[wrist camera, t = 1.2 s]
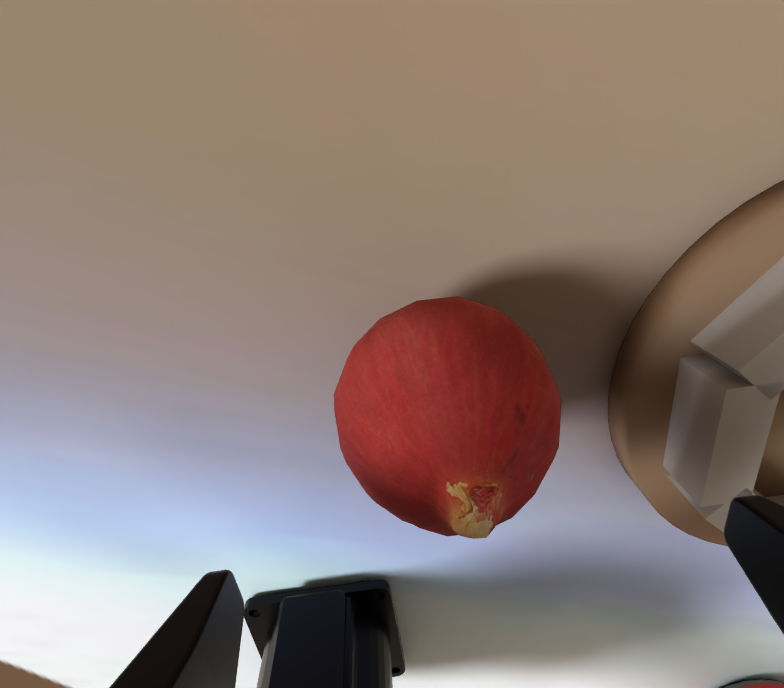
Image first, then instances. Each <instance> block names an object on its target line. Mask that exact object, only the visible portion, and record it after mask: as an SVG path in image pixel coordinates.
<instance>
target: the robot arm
mask: <svg viewBox="0 0 784 688" xmlns="http://www.w3.org/2000/svg"><path fill="white" fill-rule="evenodd" d="M724 537H725V540H726V543H727V545H728V547H729V548H730V550H731V552H732V553H733V555H734V556H735V558H736V560H737V561H738V563H739V564H740V566H741V568H742V569H743V571H744V572H745V574H746V576H747V577H748V579H749V580H750V582H751V584H752V585H753V587H754V588H755V590H756V592H757V593H758V595H759V596H760V598H761V600H762V601H763V603H764V604H765V606H766V608H767V609H768V611H769V613H770V614H771V616H772V617H773V619H774V620H775V622H776V623H777V625H778V626H779V628H780V629H781V631H782V633H783V634H784V506H782V505H780V504H778V503H776V502H773V501H771V500H769V499H767V498H765V497H762V496H759V495H750V496H743V497H737V498H734V499H733V500H732V501H731V503H730V506H729V510H728V514H727V518H726V522H725V526H724ZM243 618H245V620H246V623H247V625H248V627H249V630H250V632H251V635H252V637H253V639H254V642H255V644H256V647H257V649H258V651H259V654H260V656H261V659H262V663H261V668H260V673H259V678H258V683H257V688H393V686H392V677H395V676H399V675H401V674H403V673H404V672H405V660H404V655H403V650H402V645H401V640H400V634H399V629H398V624H397V619H396V614H395V608H394V603H393V598H392V593H391V588H390V585H389V583H388V582H386V581H383V580H374V581H367V582H360V583H353V584H346V585H339V586H331V587H324V588H317V589H310V590H303V591H296V592H288V593H281V594H274V595H267V596H260V597H253V598H250V599H248V600H247V601H246V603H245V606H244V601H243V598H242V595H241V593H240V590H239V588H238V585H237V583H236V580H235V578H234V575H233V573H232V572H231V571H230V570H221V571H214V572H209V573H207V574H206V575H204V576H203V577H202V578H201V580H200V581H199V582H198V583H197V584H196V585H195V587H194V588H193V589H192V590H191V591H190V593H189V594H188V595H187V596H186V597H185V599H184V600H183V601H182V602H181V603H180V604H179V606H178V607H177V608H176V609H175V610H174V612H173V613H172V614H171V615H170V616H169V618H168V619H167V620H166V621H165V622H164V623H163V625H162V626H161V627H160V628H159V629H158V631H157V632H156V633H155V634H154V635H153V636H152V638H151V639H150V640H149V641H148V642H147V644H146V645H145V646H144V647H143V648H142V650H141V651H140V652H139V653H138V654H137V655H136V657H135V658H134V659H133V660H132V661H131V663H130V664H129V665H128V666H127V667H126V669H125V670H124V671H123V672H122V673H121V674H120V676H119V677H118V678H117V679H116V680H115V682H114V683H113V684H112V685H111V686H110V687H109V688H235V683H236V675H237V667H238V659H239V651H240V642H241V634H242V626H243Z"/></svg>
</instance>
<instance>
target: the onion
mask: <svg viewBox="0 0 784 688" xmlns="http://www.w3.org/2000/svg"><path fill="white" fill-rule="evenodd" d="M334 410H335V417H336V423H337V429H338V435H339V442H340V448H341V451H342V453H343V456H344V458H345V461H346V463H347V465H348V466H349V468H350V469H351V471H352V472H353V474H354V475H355V477H356V478H357V480H358V481H359V483H360V484H361V486H362V487H363V489H364V490H365V492H366V493H367V494H368V495H369V496H370V497H371V498H372V499H373V500H374V501H375V502H376V503H377V504H379V505H380V506H382V507H383V508H385V509H386V510H387V511H389V512H390V513H392V514H393V515H395V516H396V517H398V518H399V519H401V520H402V521H405V522H408V523H411V524H413V525H415V526H417V527H419V528H421V529H425V530H428V531H431V532H435V533H438V534H441V535H445V536H454V535H460V536H464V537H468V538H487V536H488V535H489V534H490V533H491V531H492V530H493V529H494V528H495V526H496V525H498V524H500V523H502V522H504V521H506V520H508V519H510V518H512V517H513V516H514V515H515V514H516V513H517V512H518V511H519V510H520V509H521V508H522V507H523V506H524V505H525V504H526V503H527V502H528V501H529V500H530V499H531V498H532V497H533V496H534V495H535V493H536V491H537V489H538V487H539V485H540V484H541V482H542V480H543V478H544V476H545V474H546V472H547V471H548V469H549V467H550V465H551V463H552V461H553V460H554V457H555V455H556V452H557V450H558V447H559V436H560V417H561V398H560V394H559V391H558V387H557V384H556V382H555V380H554V378H553V376H552V374H551V372H550V369H549V367H548V365H547V363H546V361H545V359H544V357H543V355H542V353H541V351H540V350H539V348H538V346H537V344H536V343H535V341H534V340H533V339H532V338H531V337H530V336H529V335H528V334H526V333H525V332H524V331H523V330H522V329H521V328H520V327H519V326H518V325H516V324H515V323H514V322H513V321H512V320H511V319H510V318H509V317H507V316H506V315H505V314H503V313H501V312H500V311H498V310H497V309H495V308H492V307H489V306H486V305H483V304H480V303H477V302H474V301H471V300H467V299H464V298H461V297H458V296H457V297H448V298H439V299H429V300H420V301H416V302H413V303H411V304H409V305H407V306H405V307H403V308H401V309H399V310H397V311H395V312H393V313H391V314H389V315H387V316H385V317H383V318H380V319H379V320H378V321H377V322H376V323H375V325H374V326H373V327H372V328H371V329H370V330H369V331H368V332H367V333H366V334H365V335H364V336H363V337H362V338H361V339H360V340H359V341H358V342H357V343H356V344H355V345H354V347H353V349H352V351H351V352H350V354H349V356H348V358H347V361H346V363H345V366H344V369H343V371H342V374H341V377H340V379H339V382H338V385H337V387H336V390H335V393H334Z"/></svg>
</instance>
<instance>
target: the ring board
mask: <svg viewBox="0 0 784 688" xmlns="http://www.w3.org/2000/svg"><path fill="white" fill-rule="evenodd" d="M608 422H609V428H610V435H611V440H612V443H613V446H614V449H615V452H616V455H617V457H618V459H619V461H620V463H621V465H622V466H623V468H624V470H625V472H626V473H627V474H628V476H629V477H630V478H631V480H632V481H633V482H634V483H635V485H636V486H637V487H638V488H639V490H640V491H641V492H642V494H643V495H644V496H645V497H646V499H647V500H648V501H649V502H650V504H651V505H652V506H653V507H654V508H655V510H656V511H657V512H658V513H659V514H660V515H661V516H662V517H664V518H665V519H666V520H667V521H668V522H670V523H671V524H672V525H674V526H675V527H677V528H679V529H681V530H682V531H684V532H686V533H687V534H689V535H692V536H695V537H697V538H700V539H702V540H705V541H708V542H712V543H716V544H721V545H725V546H728V545H727V543H726V540H725V537H724V526H725V522H726V518H727V514H728V510H729V506H730V503H731V501H732V500H733V499H734V498H737V497H743V496H750V495H759V496H762V497H765V498H767V499H769V500H771V501H773V502H776V503H778V504H780V505H782V506H784V181H781V182H779V183H777V184H775V185H774V186H772V187H770V188H768V189H767V190H765V191H763V192H762V193H760V194H758V195H757V196H755V197H753V198H752V199H750V200H748V201H747V202H745V203H744V204H742V205H741V206H739V207H738V208H737V209H735V210H734V211H733V212H731V213H730V214H729V215H727V216H726V217H724V218H723V219H722V220H720V221H719V222H718V223H716V224H715V225H714V226H713V227H712V228H711V229H709V230H708V231H707V232H706V233H705V234H704V235H703V236H702V237H700V238H699V239H698V240H697V241H696V242H695V243H694V244H693V245H692V246H690V247H689V248H688V249H687V251H686V252H685V253H684V254H683V255H682V256H681V257H680V258H679V259H678V260H677V261H676V262H675V264H674V265H673V266H672V267H671V268H670V269H669V270H668V271H667V272H666V273H665V275H664V276H663V277H662V279H661V280H660V281H659V283H658V284H657V285H656V287H655V288H654V289H653V291H652V292H651V293H650V295H649V296H648V297H647V299H646V301H645V302H644V304H643V306H642V307H641V309H640V311H639V312H638V314H637V316H636V317H635V319H634V321H633V322H632V324H631V326H630V328H629V331H628V333H627V335H626V337H625V339H624V342H623V344H622V346H621V348H620V351H619V354H618V357H617V361H616V364H615V367H614V370H613V374H612V379H611V385H610V391H609V397H608Z"/></svg>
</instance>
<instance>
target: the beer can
mask: <svg viewBox="0 0 784 688" xmlns="http://www.w3.org/2000/svg"><path fill="white" fill-rule="evenodd" d="M724 688H784V684H783V683H781V682H778V681H773V680H763V679H758V680H749V681H743V682H739V683H735V684H732V685H728V686H726V687H724Z"/></svg>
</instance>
